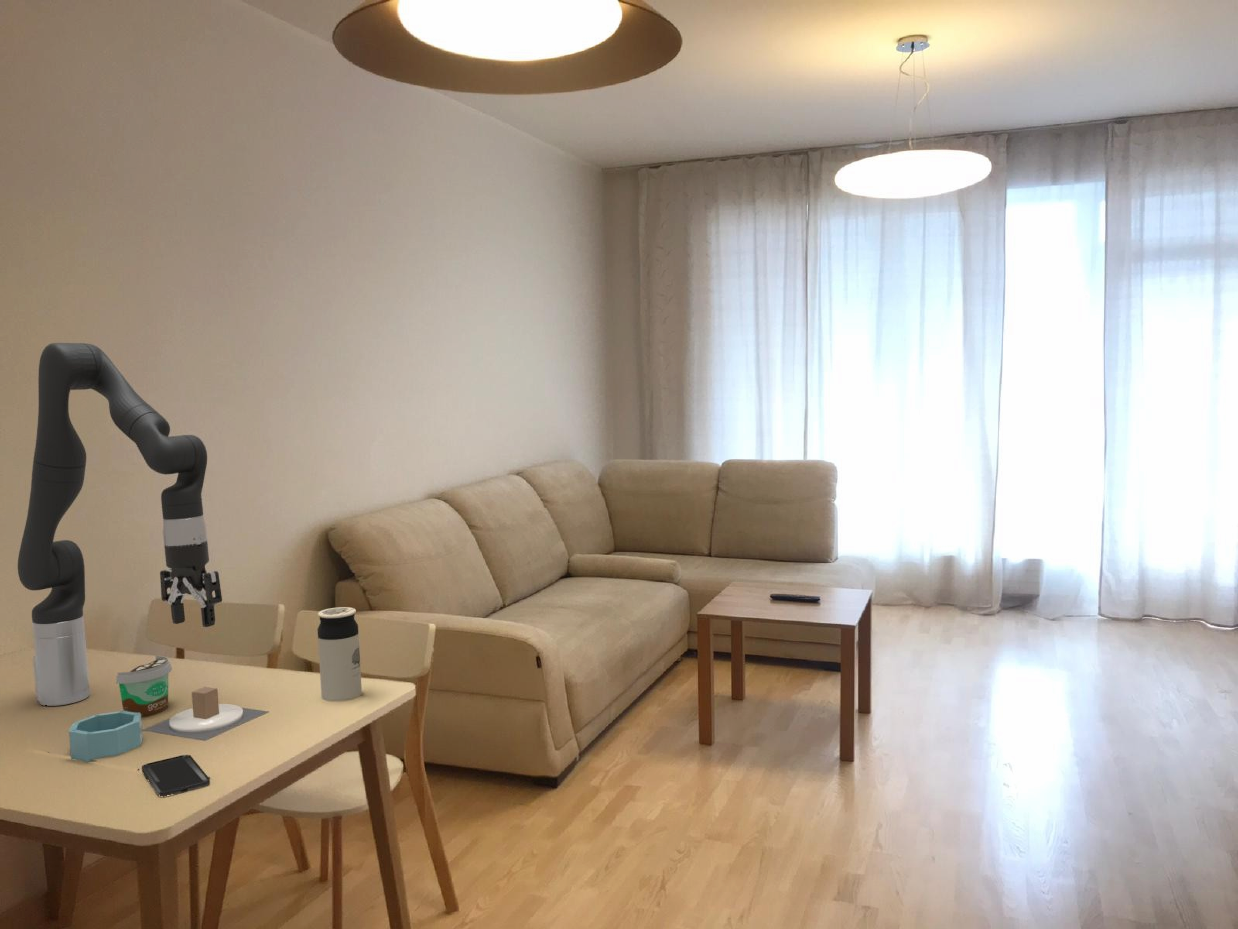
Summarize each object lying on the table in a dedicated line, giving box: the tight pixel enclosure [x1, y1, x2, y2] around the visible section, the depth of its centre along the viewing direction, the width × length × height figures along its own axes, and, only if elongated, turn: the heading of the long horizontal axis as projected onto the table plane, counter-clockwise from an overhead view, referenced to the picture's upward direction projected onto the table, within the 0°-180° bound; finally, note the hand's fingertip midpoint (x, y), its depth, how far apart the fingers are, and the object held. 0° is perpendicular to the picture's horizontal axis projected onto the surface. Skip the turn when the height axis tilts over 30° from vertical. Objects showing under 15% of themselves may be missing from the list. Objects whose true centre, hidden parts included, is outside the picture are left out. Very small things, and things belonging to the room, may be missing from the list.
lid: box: [169, 686, 243, 733], centre depth 187 cm, size 13×13×6 cm
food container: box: [115, 655, 173, 718], centre depth 194 cm, size 12×6×10 cm, turn 168°
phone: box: [141, 754, 211, 796], centre depth 162 cm, size 8×1×15 cm
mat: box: [142, 707, 270, 742], centre depth 187 cm, size 16×16×1 cm
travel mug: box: [317, 606, 363, 702], centre depth 200 cm, size 8×8×18 cm
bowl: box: [68, 710, 144, 763], centre depth 175 cm, size 11×11×5 cm
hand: (193, 624), depth 187 cm, fingers open, 8 cm apart
